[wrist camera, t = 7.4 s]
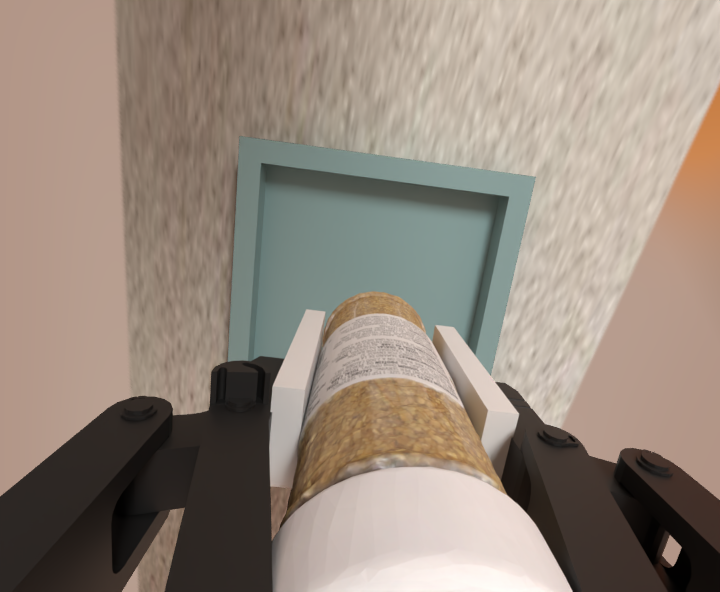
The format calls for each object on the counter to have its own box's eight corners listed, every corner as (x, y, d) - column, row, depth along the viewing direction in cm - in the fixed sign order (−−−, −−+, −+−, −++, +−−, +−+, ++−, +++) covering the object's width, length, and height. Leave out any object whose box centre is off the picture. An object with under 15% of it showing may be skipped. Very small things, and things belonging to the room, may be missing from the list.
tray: (251, 142, 23) (239, 136, 21) (517, 178, 24) (535, 176, 22) (236, 389, 27) (225, 408, 25) (466, 415, 28) (477, 435, 25)
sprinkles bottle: (402, 398, 18) (521, 904, 5) (308, 367, 18) (177, 831, 5) (441, 307, 17) (711, 654, 4) (341, 272, 17) (293, 534, 4)
